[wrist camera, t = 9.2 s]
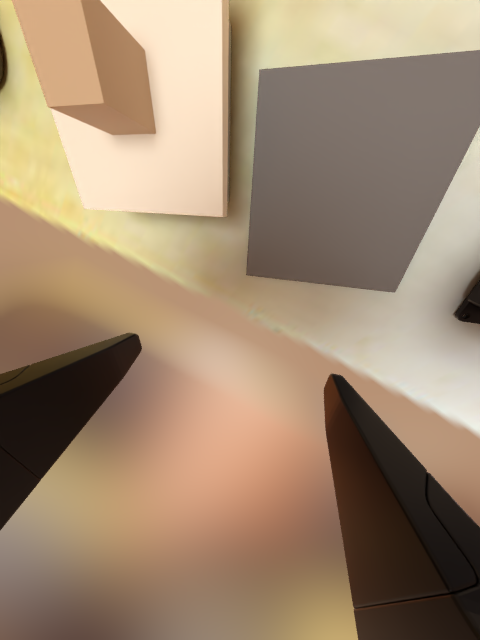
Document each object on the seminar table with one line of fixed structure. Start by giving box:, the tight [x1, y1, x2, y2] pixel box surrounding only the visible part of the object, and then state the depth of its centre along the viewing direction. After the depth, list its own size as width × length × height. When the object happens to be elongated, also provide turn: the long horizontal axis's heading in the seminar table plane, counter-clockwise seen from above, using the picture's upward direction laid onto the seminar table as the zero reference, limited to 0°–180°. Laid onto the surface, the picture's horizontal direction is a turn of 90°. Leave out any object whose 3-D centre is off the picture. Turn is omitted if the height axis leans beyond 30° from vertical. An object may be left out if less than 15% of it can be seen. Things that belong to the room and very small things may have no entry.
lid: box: [12, 0, 229, 217], centre depth 9 cm, size 11×11×4 cm
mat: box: [246, 50, 480, 292], centre depth 14 cm, size 13×13×1 cm
